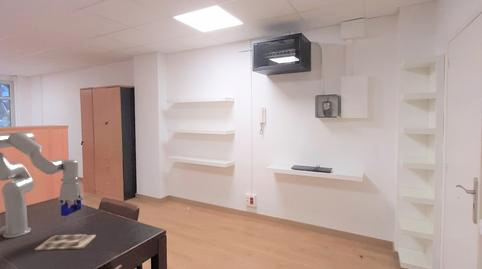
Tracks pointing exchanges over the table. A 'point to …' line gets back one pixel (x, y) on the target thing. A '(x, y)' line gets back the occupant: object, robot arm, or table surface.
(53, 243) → the clip cradle
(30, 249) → the table surface
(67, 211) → the blue curved piece
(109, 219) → the table surface
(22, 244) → the table surface
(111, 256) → the table surface
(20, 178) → the robot arm
